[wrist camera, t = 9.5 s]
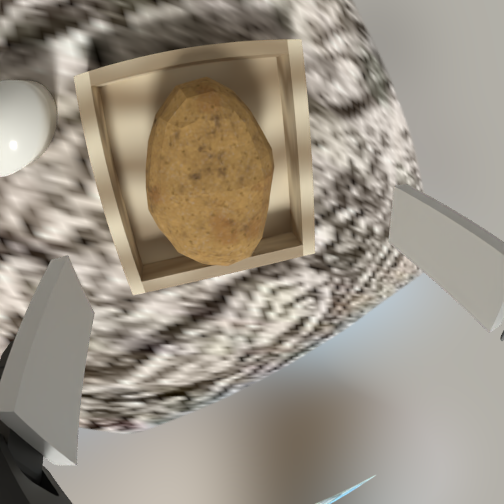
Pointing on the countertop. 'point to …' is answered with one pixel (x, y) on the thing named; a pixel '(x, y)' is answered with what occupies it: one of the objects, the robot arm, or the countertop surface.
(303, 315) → the countertop surface
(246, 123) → the potato
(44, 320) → the robot arm
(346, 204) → the countertop surface
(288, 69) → the tray
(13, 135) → the white rounded piece
